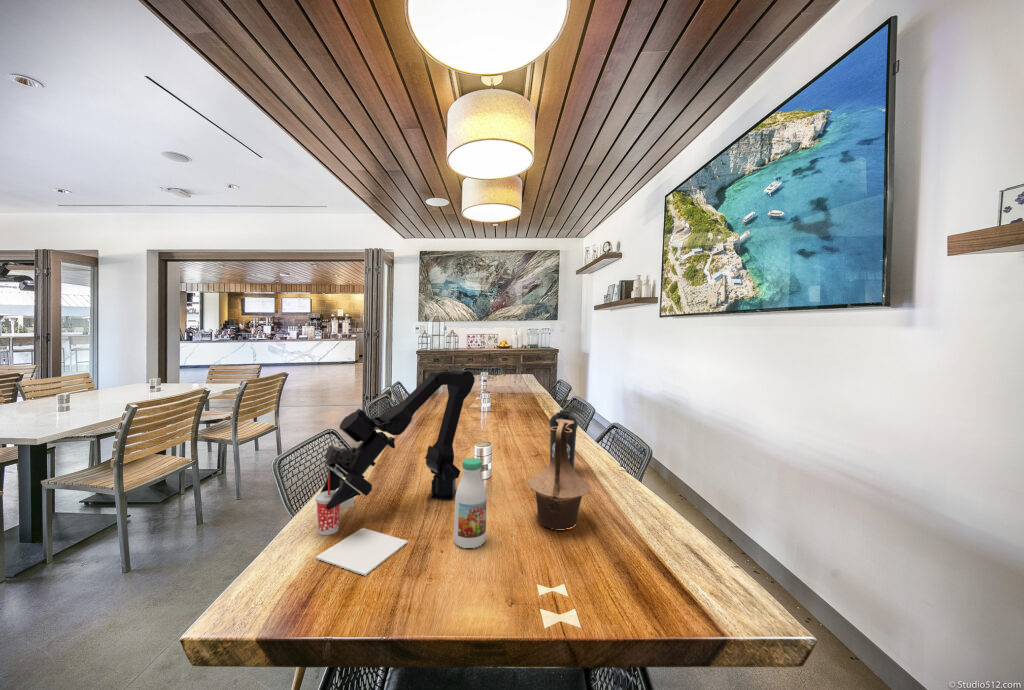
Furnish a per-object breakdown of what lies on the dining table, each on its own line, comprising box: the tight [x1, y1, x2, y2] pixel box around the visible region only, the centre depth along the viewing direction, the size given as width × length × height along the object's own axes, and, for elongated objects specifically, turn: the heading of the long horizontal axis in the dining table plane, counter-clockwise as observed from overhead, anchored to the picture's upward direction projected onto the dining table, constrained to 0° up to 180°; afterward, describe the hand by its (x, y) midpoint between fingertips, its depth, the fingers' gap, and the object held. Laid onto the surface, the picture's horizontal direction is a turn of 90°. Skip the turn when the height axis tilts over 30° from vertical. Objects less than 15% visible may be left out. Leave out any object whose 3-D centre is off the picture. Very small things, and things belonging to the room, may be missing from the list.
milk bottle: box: [453, 457, 488, 549], centre depth 95 cm, size 8×8×20 cm
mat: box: [315, 527, 409, 577], centre depth 89 cm, size 14×14×1 cm
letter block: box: [335, 489, 355, 510], centre depth 112 cm, size 5×5×5 cm
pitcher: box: [527, 419, 591, 529], centre depth 106 cm, size 18×17×28 cm
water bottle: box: [548, 409, 579, 471], centre depth 141 cm, size 10×10×23 cm
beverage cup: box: [314, 475, 341, 536], centre depth 98 cm, size 6×6×14 cm
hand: (322, 504), depth 97 cm, fingers closed on beverage cup, 6 cm apart
